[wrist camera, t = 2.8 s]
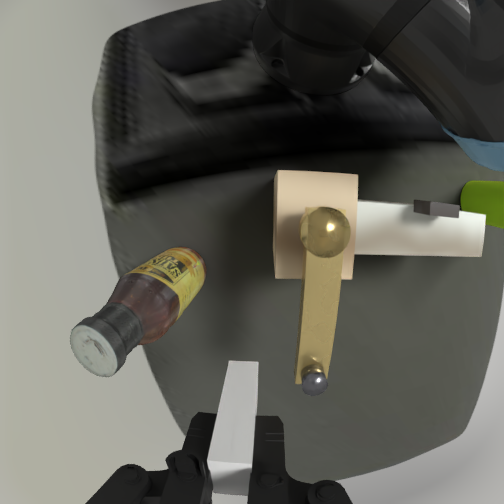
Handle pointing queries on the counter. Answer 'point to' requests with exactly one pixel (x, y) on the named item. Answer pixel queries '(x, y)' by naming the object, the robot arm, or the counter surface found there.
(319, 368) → the swing bar
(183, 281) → the sauce bottle
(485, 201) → the soap dispenser
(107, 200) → the counter surface
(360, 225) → the door frame
